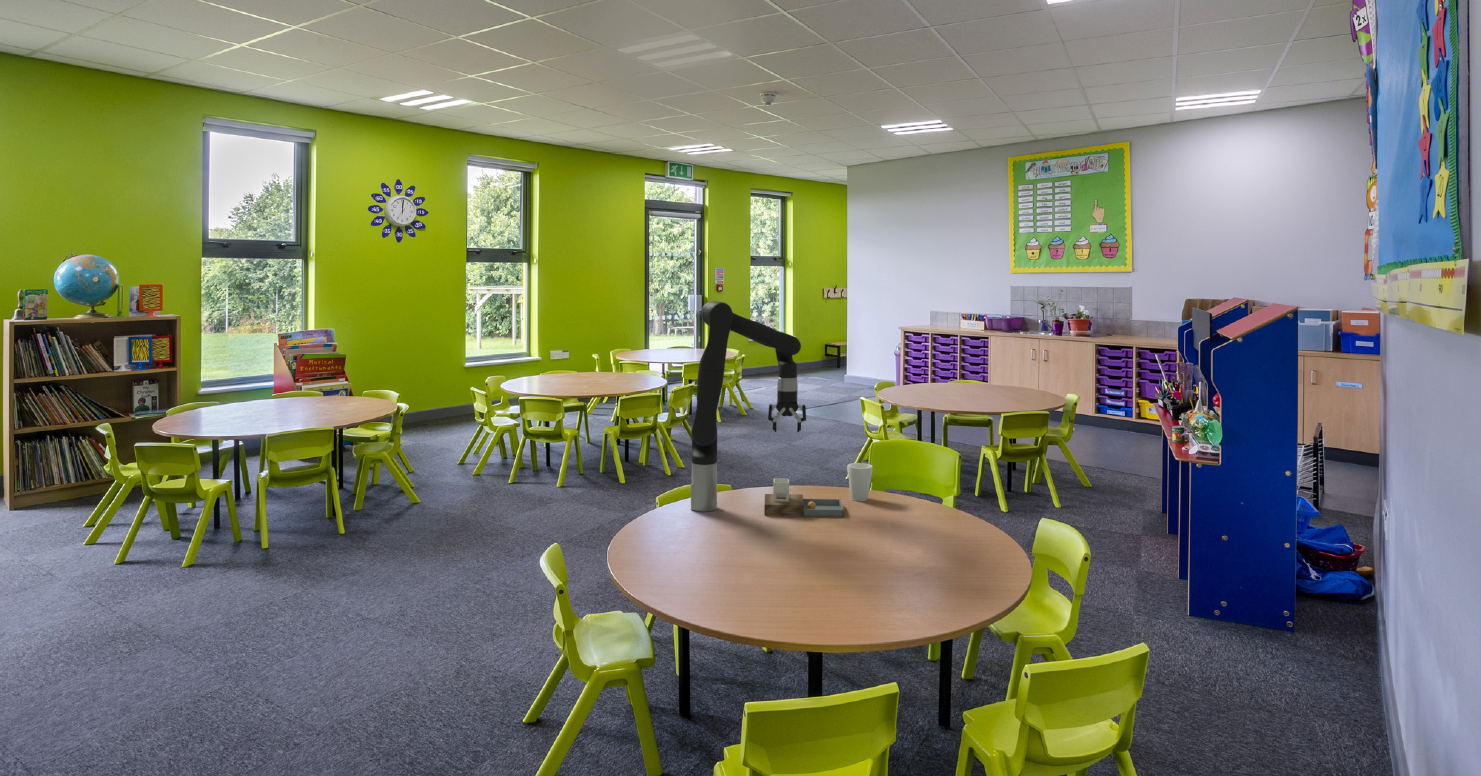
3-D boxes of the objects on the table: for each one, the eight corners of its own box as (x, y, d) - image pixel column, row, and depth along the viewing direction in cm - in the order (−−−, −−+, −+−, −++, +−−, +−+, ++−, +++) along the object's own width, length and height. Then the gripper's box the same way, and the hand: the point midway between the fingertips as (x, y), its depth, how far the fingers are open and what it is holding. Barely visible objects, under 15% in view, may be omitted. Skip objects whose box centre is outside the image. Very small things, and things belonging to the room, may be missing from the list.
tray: (804, 516, 275) (804, 509, 274) (802, 505, 289) (802, 498, 288) (843, 516, 274) (843, 509, 274) (840, 505, 288) (840, 499, 288)
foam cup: (842, 497, 299) (842, 464, 298) (862, 494, 303) (863, 462, 302) (855, 503, 291) (856, 469, 289) (876, 500, 295) (877, 467, 293)
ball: (807, 502, 280) (816, 502, 279) (807, 500, 283) (815, 500, 282) (807, 510, 280) (816, 510, 280) (807, 508, 283) (815, 508, 283)
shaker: (773, 501, 279) (773, 482, 278) (773, 497, 284) (773, 478, 283) (788, 501, 279) (789, 482, 278) (788, 497, 284) (788, 478, 283)
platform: (764, 515, 275) (764, 504, 275) (764, 504, 289) (764, 493, 289) (804, 516, 275) (804, 505, 274) (802, 505, 289) (802, 494, 288)
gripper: (768, 390, 287) (767, 433, 289) (807, 390, 287) (806, 434, 289) (768, 387, 295) (768, 429, 297) (806, 388, 294) (805, 430, 296)
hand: (786, 431), depth 293 cm, fingers open, 8 cm apart
